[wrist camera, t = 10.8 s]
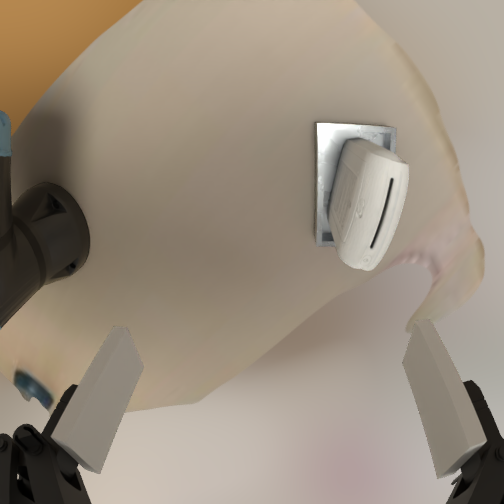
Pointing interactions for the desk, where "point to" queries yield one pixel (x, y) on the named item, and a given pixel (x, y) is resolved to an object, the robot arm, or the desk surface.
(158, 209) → the desk surface
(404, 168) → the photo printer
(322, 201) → the grey rectangular tray
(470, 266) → the desk surface
